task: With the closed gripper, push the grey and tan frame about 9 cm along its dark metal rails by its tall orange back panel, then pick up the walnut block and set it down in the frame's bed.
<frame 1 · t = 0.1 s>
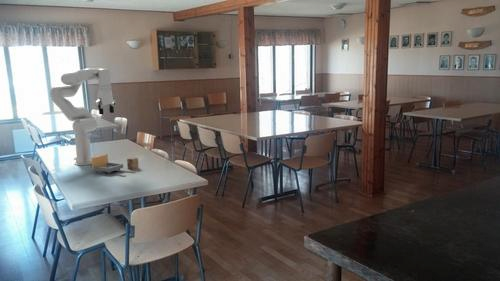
hand: (106, 113, 273), 36 cm above the table, tool pointing down, fingers open, 9 cm apart
grey and tan frame: (107, 163, 264), point 5 cm above the table, slide at 0.0 cm
rail track: (116, 172, 263), on the table
walnut block: (133, 168, 274), on the table
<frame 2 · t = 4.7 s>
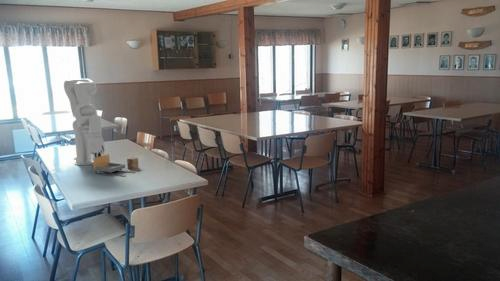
hand: (97, 162, 268), 5 cm above the table, tool pointing down, fingers closed
grey and tan frame: (109, 163, 264), point 5 cm above the table, slide at 1.5 cm, touching gripper
everything else where it was.
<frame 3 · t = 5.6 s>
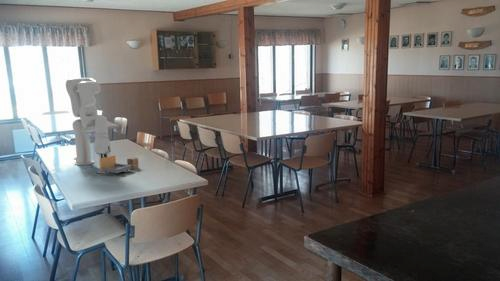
hand: (103, 163, 266), 5 cm above the table, tool pointing down, fingers closed
grey and tan frame: (115, 164, 262), point 5 cm above the table, slide at 6.6 cm, touching gripper
everything else where it was.
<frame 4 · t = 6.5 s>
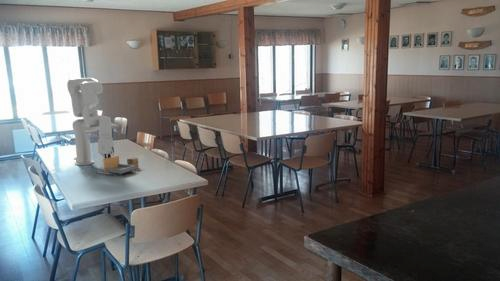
hand: (107, 163, 264), 5 cm above the table, tool pointing down, fingers closed
grey and tan frame: (119, 165, 260), point 5 cm above the table, slide at 9.8 cm, touching gripper
everything else where it was.
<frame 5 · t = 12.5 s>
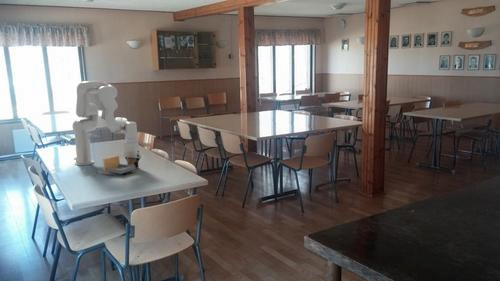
hand: (133, 166, 274), 1 cm above the table, tool pointing down, fingers closed on walnut block, 5 cm apart
grey and tan frame: (119, 165, 260), point 5 cm above the table, slide at 9.9 cm
walnut block: (133, 168, 274), on the table, touching gripper
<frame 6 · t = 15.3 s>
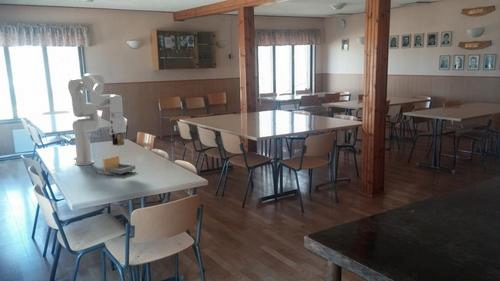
hand: (118, 143, 258), 19 cm above the table, tool pointing down, fingers closed on walnut block, 5 cm apart
walnut block: (118, 144, 259), point 18 cm above the table, touching gripper
everything else where it was.
when the fingers open (5 cm above the table, at t = 18.4 s): walnut block drops 2 cm, resting on grey and tan frame.
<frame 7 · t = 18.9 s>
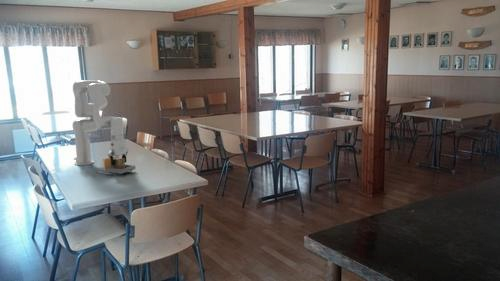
hand: (119, 163, 260), 6 cm above the table, tool pointing down, fingers open, 9 cm apart
grey and tan frame: (119, 165, 260), point 5 cm above the table, slide at 9.9 cm, touching walnut block
walnut block: (119, 169, 261), point 3 cm above the table, touching grey and tan frame
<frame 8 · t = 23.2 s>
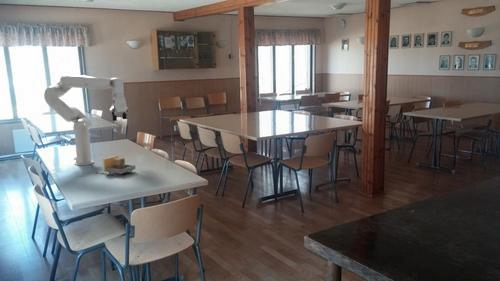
hand: (119, 120, 288), 30 cm above the table, tool pointing down, fingers open, 9 cm apart
nothing on the table moved.
at the end: grey and tan frame slide at 9.9 cm; walnut block inside the target area (0.0 cm from its centre), point 2.6 cm above the table; walnut block tilted 0° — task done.
